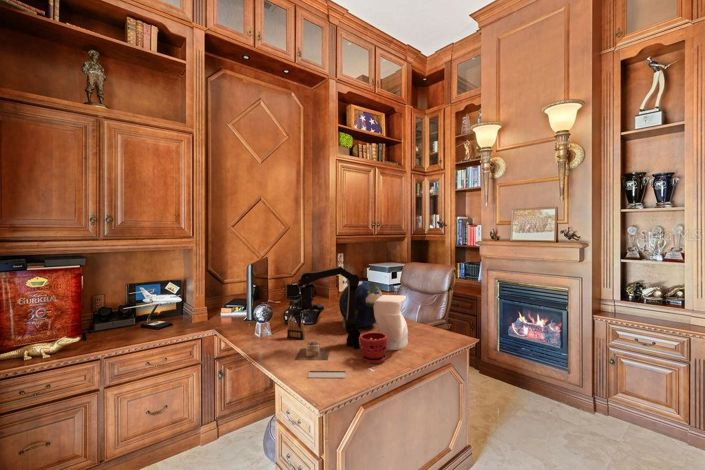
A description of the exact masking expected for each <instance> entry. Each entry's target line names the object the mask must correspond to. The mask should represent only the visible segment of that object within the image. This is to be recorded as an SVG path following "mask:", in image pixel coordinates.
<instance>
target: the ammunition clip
mask: <svg viewBox="0 0 705 470" xmlns="http://www.w3.org/2000/svg"><path fill="white" fill-rule="evenodd" d="M304 326H305V325H304V319H303V318H301V326H300V328H298V325H297V322H296V320H295V318H294V317H291V318H290V317H288V322H287V333H286V338H288V339H291V338H293V339H292V340H301V341H304V340H305V329H304V328H305V327H304Z"/></svg>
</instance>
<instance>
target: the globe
mask: <svg viewBox="0 0 705 470" xmlns="http://www.w3.org/2000/svg"><path fill="white" fill-rule="evenodd" d="M382 295H384V294H383V292H382V291H381V289H380V288H379V287H378V286H377V285H376V284H375V283H373V282H370V281H367V280H359V285H358V288H357V290H356V301H355V316H354V317H355V322H356V328H367V327H370V326H372V325H375V324H376V320H375V317H374V303H375V301H376V300H377V299H378V298H379V297H380V296H382ZM347 304H348V286H345V288H343V290H342V292H341V293H340V296H339V300H338V306H339V307H338V308H339V311H340V314H341V317H342V319H343V318H344V319H346V316H347Z"/></svg>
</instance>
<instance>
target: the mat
mask: <svg viewBox="0 0 705 470" xmlns="http://www.w3.org/2000/svg"><path fill="white" fill-rule="evenodd" d="M346 374H347V373H346V370H310V371H308V375H307V379H346Z"/></svg>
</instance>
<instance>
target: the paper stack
mask: <svg viewBox="0 0 705 470" xmlns="http://www.w3.org/2000/svg"><path fill="white" fill-rule="evenodd" d="M406 298H407V296H406V295H401V294H400V295H398V294H395V295H394V294H383V295H382V296H380V297H379V298H378V299H377V300H376V301H375V303H374V317H375V320H376V323H375V324H376V326H377V333H383V334H385V335H386V336H387V348H386V351H399V350H402V349H404V348H405V347H406V346H408V344H409V341H408V335H409V330H408V329H409V328H408V325H407V321H406V319H405V318H404V317H405V316H404V315H403V313H402V312H401V307H402V305H403V303H404V301H405V299H406ZM379 339H380V338H379Z"/></svg>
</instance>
